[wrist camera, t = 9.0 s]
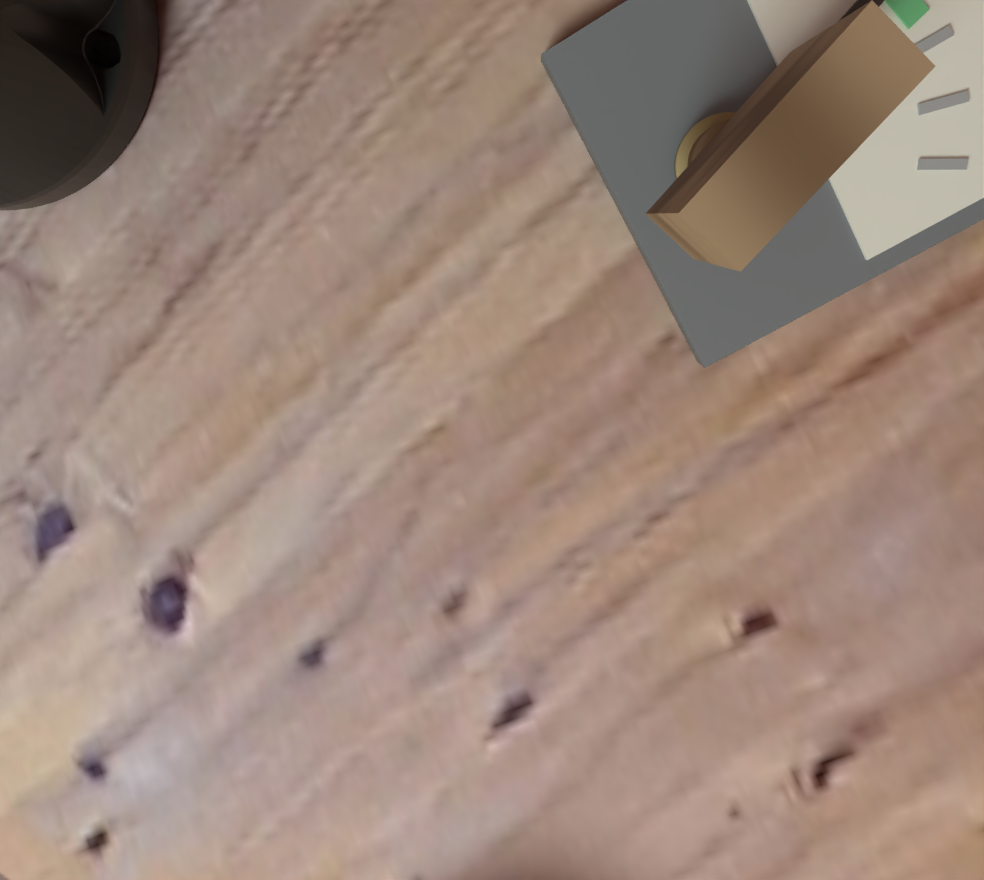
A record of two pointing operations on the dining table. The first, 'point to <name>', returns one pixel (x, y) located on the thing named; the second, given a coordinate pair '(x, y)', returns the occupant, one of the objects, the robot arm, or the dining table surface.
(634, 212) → the tuner board
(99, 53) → the robot arm
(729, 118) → the wooden pointer lever
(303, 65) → the dining table surface
